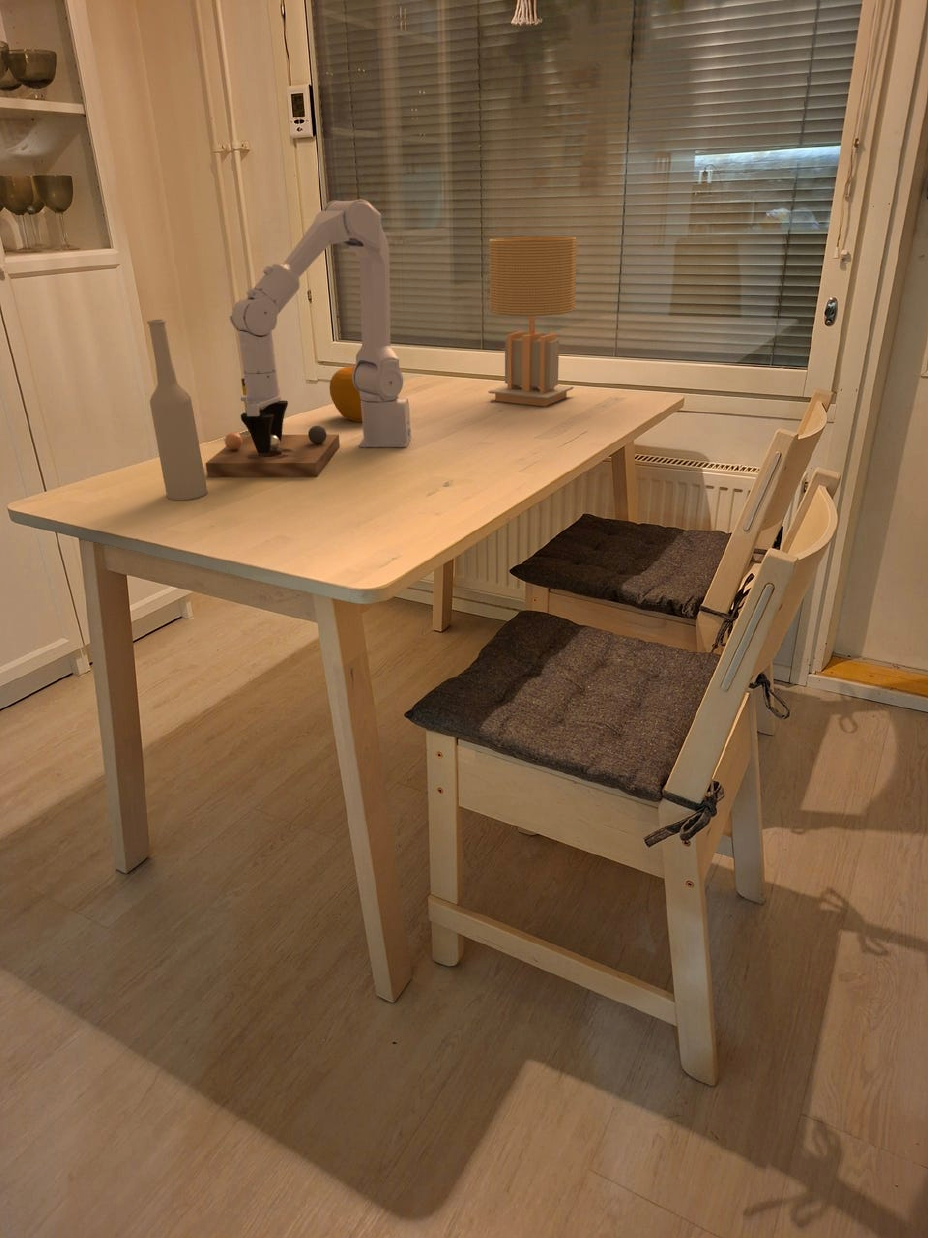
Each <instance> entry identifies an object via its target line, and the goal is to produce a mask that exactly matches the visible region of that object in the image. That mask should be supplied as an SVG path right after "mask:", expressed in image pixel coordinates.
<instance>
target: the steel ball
mask: <svg viewBox="0 0 928 1238" xmlns="http://www.w3.org/2000/svg"><path fill="white" fill-rule="evenodd" d="M279 446H280V440H279V438H278V437H277V436H276V435H274V434H271V447H270V452H273V451H276V450H277V449H278V448H279Z"/></svg>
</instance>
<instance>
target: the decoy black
mask: <svg viewBox="0 0 928 1238" xmlns="http://www.w3.org/2000/svg"><path fill="white" fill-rule="evenodd" d="M326 434H327V432H326V429H325V428H324V427H322V426H320V425H313V426H312V427H311V428H310V429H309V430H308V434H307V435H308V436H309V439H310V441H311V442H313V443H315V444H321V443H323V442H324V441H325V439H326Z"/></svg>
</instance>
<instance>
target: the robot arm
mask: <svg viewBox="0 0 928 1238" xmlns="http://www.w3.org/2000/svg"><path fill="white" fill-rule="evenodd" d="M340 243H342V244H344V245H346V246H347V247H348V248H349V249H350V250H351V251H352V252H353V253H354V254H355V255H357V257H358V258H359V274H360V275H359V276H360V279H359V280H360V282H359V283H360V311H361V312H360V313H361V314H360V315H361V316H360V317H361V320H360V322H361V346H360V349H359V350H358V352H356V355H355V364H354V366H355V368H354V370H353V373H352V380H353V384H354V386H355V387H356V389H357V390H359V394H360V398H361V411H362V422H361V423H362V435H363V437H362V439H361V440H360V442H359V444H358V446H359V447H360V448H402V447H403V448H406V447H407V446H408V444H409V442H410V440H411V438H412V435H411V434H412V433H411V419H410V416H411V415H410V403H409V400H408V398H405V397H399V395H400V393H401V392H402V389H403V386H404V377H403V373H402V370H401V368H400V359H399V357H398V356H397V355H396V353H395V351H394V350H393V348H392V347H391V287H390V286H391V284H390V283H391V281H390V280H391V279H390V277H391V275H390V271H391V269H390V267H391V266H390V265H391V263H390V245H389V241H388V240H387V237H386V234H385V232H384V229H383V227H382V214H381V212H379V211H378V210H377V208H375V206H374V205H372V204H371V203H370V202H369V201H367V200H365V199H356V200H330V201H329V202H328V203H326V204H325V206H324V207H323V209H322V210H320V211H319V212H318V213H317V214H316V215H315V217H314V220H313V222H312V224H311V225H310V226H309V228H308V229H307V230H306V232H305V234H304V235H303V236H302V237H301V239H300V240H299V241H298V243H297V244H296V246H295V247H294V249H292V251H291V252H290V254H289V255H288V257H287V258H286V260H284V262H283V263H278V262H277V263H273V264H271V266H269V265H267V266H265V267H264V269H263V270H262V272H263V274H264V275H262V276H261V278H260V279H259V281H258V282H257V283H256V284H255V286H254V287H253V288H249V289H248V290H247V291H246V295H247V298H245V297H244V298H243V299H242V298H241V299H239V300H238V301H236V302H235V304H234V305H233V307H232V312H231V315H230V316H229V319H230V323H231V324H232V326H233V328H234V329H235V330H236V331H237V334H238V340H239V349H240V357H241V362H242V363H241V365H242V372H243V376H244V377H243V378H244V379H245V386H246V393H247V395H243V394H242V395H241V396H240V401H241V402H244V401H246V402H247V405H246V411H247V413H246V411H245V412H242V413H241V414H240V419H241V421H242V422H243V424H244V425H245V426H246V428H247V430H248V432H249V433H250V434H249V435H251V436H252V439H253V442H254V444H255V447H256V449H257V452H258V453H269V452H270V447H271V434H274V435H276V436H277V437H278V438H279V440H280V441H281V439H282V435H283V428H284V419H285V415H286V411H287V408H288V405H289V401H288V400H282V396H281V389H280V387H279V379H278V372H277V363H276V356H275V349H274V348H275V346H274V338H273V331H274V330H275V329H276V327H277V324H278V315H279V314H280V313H281V312H282V310H283V309H284V308H285V307H286V306H287V304H288V303H289V302H290V301H291V299H292V298H293V297H294V296H295V294H296V293H297V292H298V291H299V290H300V287H301V285H300V277H301V276H302V275H303V274H304V272H305V271H306V270H308V268H309V267H310V266H311V265H312V264H313V263H314V262H315V261H316V259H318V257H319V256H320V255H321V254H322V253H323V252H324V251H325V250H326V249H327V248H328V246H331V245H335V244H340Z"/></svg>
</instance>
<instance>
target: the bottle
mask: <svg viewBox="0 0 928 1238" xmlns="http://www.w3.org/2000/svg"><path fill="white" fill-rule="evenodd" d="M147 324H148V328H149V333H150V337H151V344H152V349H153V355H154V356H153V357H154V361H155V370H156V371H155V372H156V380H157V381H156V382H157V386H156V387H155V389H154V391H153V393H152V395H151V397H150V399H149V405H150V411H151V412H150V413H151V416H152V421H153V427H154V428H153V429H154V434H155V437H156V438H155V439H156V444H157V450H158V454H159V455H158V456H159V461H160V467H161V472H162V478H163V482H164V487H165V493H166V498H167V499H168V500H170V501H179V502H182V501H185V502H186V501H189V500H190V501H192V500H196V499H201V498H203V497H204V496H207V494H208V489H207V483H206V482H207V481H206V476H205V471H204V470H205V469H204V465H203V459H202V453H201V447H200V442H199V436H198V432H197V431H198V430H197V425H196V419H195V418H196V417H195V413H194V407H193V404H192V398H191V396H190V395H189V393H188V392H187V391H186V390H185V389H184V388H183V387H182V386H181V385H180V384H179V383H178V379H177V377H176V373H175V368H174V365H173V359H172V354H171V348H170V345H169V338H168V335H167V334H168V333H167V327H166V319H162V318H161V319H149V320H147V321H146V325H147Z"/></svg>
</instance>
